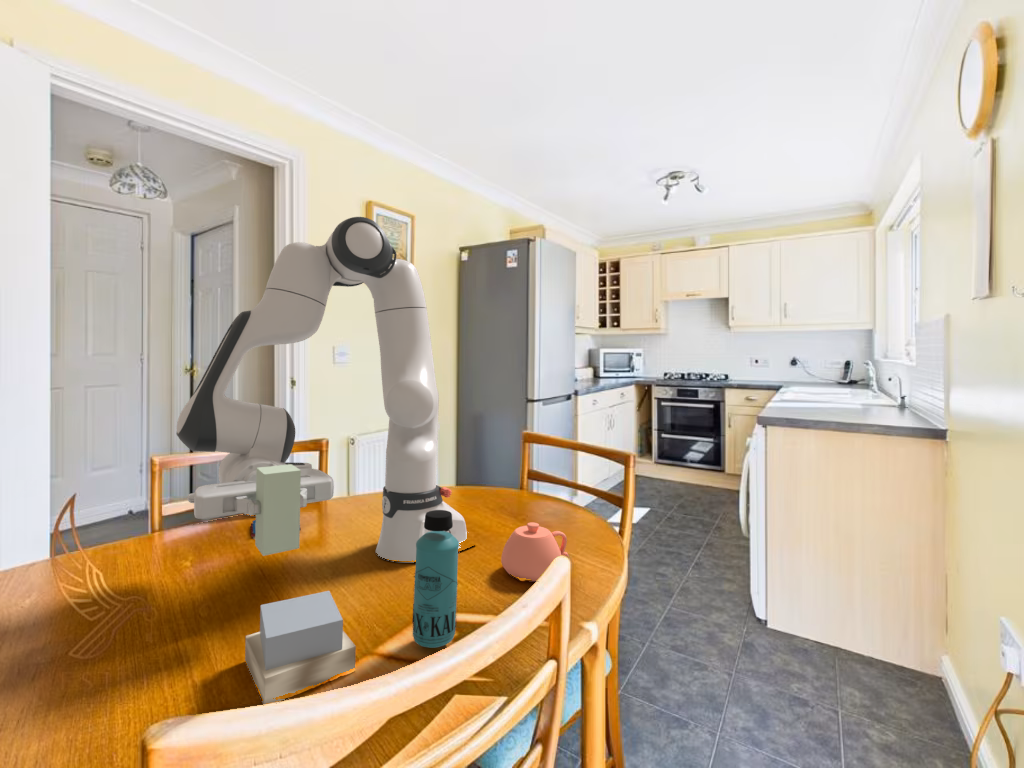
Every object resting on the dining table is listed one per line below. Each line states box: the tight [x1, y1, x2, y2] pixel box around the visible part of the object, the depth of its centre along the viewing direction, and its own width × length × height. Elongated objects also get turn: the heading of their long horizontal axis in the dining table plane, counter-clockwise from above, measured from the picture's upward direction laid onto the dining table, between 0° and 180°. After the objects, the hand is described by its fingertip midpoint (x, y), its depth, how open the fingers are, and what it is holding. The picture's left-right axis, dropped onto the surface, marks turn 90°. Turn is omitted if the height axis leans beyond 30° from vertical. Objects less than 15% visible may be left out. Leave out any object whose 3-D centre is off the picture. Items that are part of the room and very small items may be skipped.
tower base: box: [244, 630, 357, 705], centre depth 64 cm, size 11×11×4 cm
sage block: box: [254, 464, 301, 557], centre depth 72 cm, size 5×5×12 cm
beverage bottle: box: [411, 510, 459, 649], centre depth 69 cm, size 6×7×20 cm
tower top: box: [259, 590, 344, 670], centre depth 64 cm, size 9×9×4 cm
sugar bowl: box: [500, 522, 570, 582], centre depth 95 cm, size 12×14×10 cm
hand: (279, 505), depth 71 cm, fingers closed on sage block, 5 cm apart
